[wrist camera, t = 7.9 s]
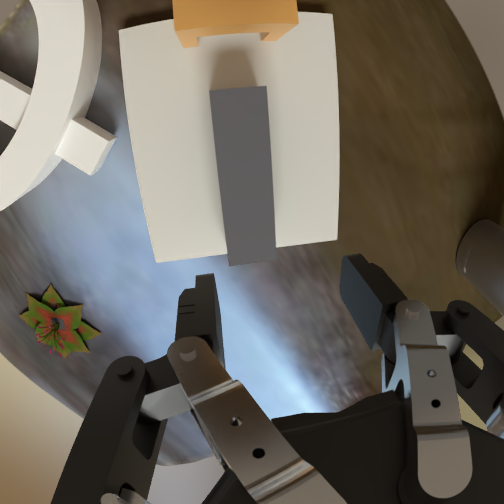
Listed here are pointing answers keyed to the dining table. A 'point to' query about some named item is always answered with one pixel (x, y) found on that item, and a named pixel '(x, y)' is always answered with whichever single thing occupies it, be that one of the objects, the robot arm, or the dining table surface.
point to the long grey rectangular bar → (245, 172)
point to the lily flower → (54, 336)
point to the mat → (202, 138)
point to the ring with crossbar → (54, 100)
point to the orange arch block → (233, 18)
